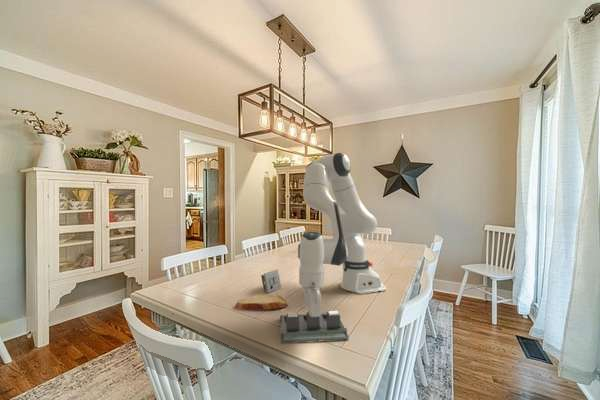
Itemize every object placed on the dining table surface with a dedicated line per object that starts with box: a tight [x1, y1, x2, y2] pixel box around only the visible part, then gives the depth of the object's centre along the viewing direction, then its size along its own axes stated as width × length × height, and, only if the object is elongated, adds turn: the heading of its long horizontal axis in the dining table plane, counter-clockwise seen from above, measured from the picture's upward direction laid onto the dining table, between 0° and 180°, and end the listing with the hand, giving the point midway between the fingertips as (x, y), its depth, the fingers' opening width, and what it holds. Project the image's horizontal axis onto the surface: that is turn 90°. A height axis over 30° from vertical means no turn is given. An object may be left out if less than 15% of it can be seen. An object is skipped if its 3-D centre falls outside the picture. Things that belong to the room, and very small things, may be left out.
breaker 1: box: [286, 312, 299, 331], centre depth 81 cm, size 4×3×6 cm
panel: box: [279, 312, 349, 344], centre depth 85 cm, size 22×15×2 cm
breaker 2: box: [326, 310, 341, 329], centre depth 83 cm, size 4×3×6 cm
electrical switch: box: [260, 269, 282, 294], centre depth 121 cm, size 9×5×9 cm, turn 141°
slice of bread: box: [234, 293, 288, 311], centre depth 103 cm, size 18×18×4 cm
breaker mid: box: [306, 311, 320, 330], centre depth 82 cm, size 4×3×6 cm
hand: (311, 317), depth 86 cm, fingers closed
